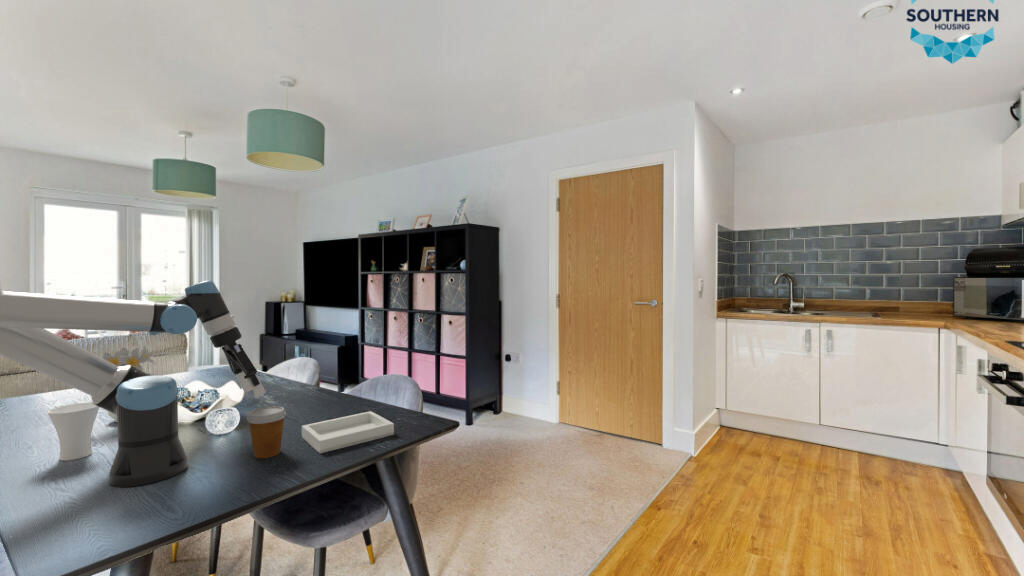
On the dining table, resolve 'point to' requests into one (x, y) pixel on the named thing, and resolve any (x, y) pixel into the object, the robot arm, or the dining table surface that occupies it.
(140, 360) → the flower vase
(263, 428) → the disposable coffee cup
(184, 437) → the dining table surface
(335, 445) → the tray
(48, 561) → the dining table surface
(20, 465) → the dining table surface
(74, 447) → the cup
